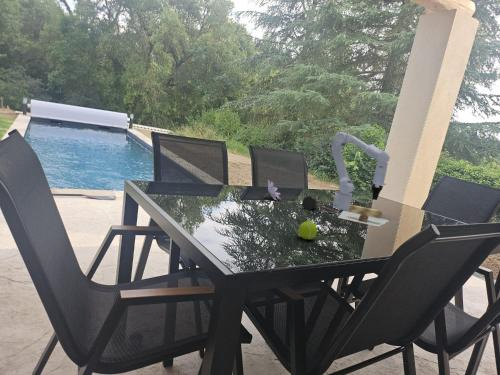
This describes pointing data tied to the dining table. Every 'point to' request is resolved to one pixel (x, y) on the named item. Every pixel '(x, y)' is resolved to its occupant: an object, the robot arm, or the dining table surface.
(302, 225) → the tennis ball
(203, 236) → the dining table surface
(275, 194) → the water lily
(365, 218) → the ridge
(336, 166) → the robot arm
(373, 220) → the slab
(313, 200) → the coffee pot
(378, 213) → the rod
